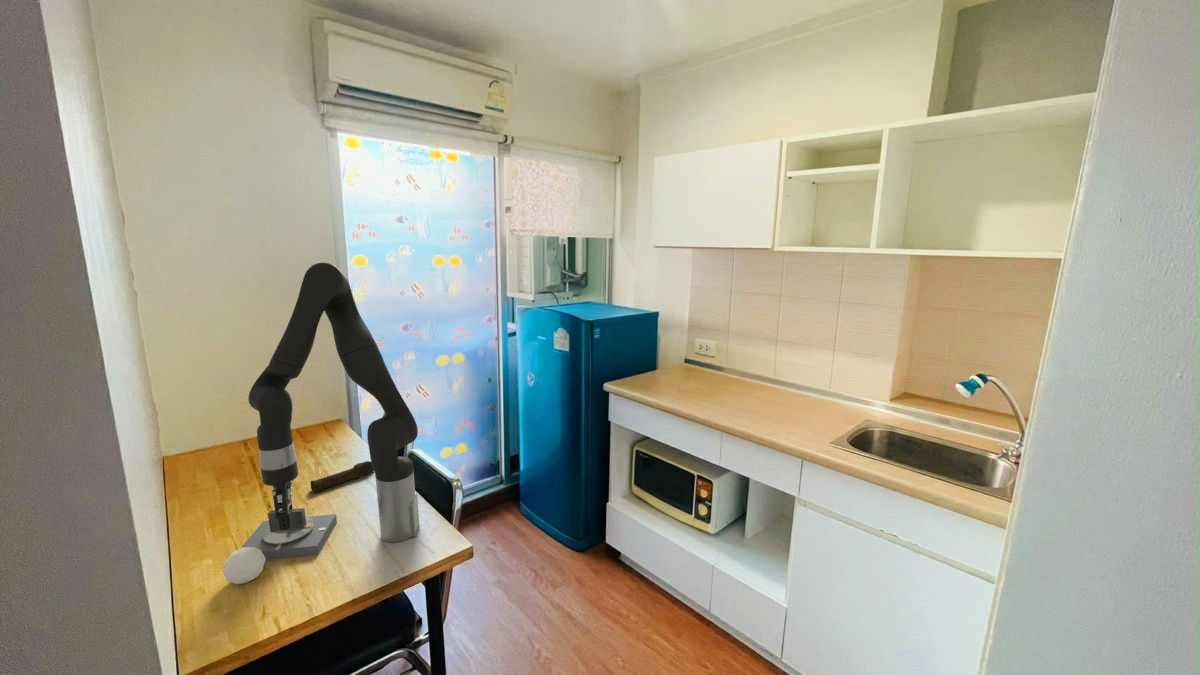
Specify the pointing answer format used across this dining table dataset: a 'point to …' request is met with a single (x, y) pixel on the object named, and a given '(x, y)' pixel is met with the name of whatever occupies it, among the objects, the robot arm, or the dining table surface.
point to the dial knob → (295, 532)
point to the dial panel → (297, 548)
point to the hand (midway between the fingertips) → (286, 520)
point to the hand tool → (342, 476)
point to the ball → (244, 565)
